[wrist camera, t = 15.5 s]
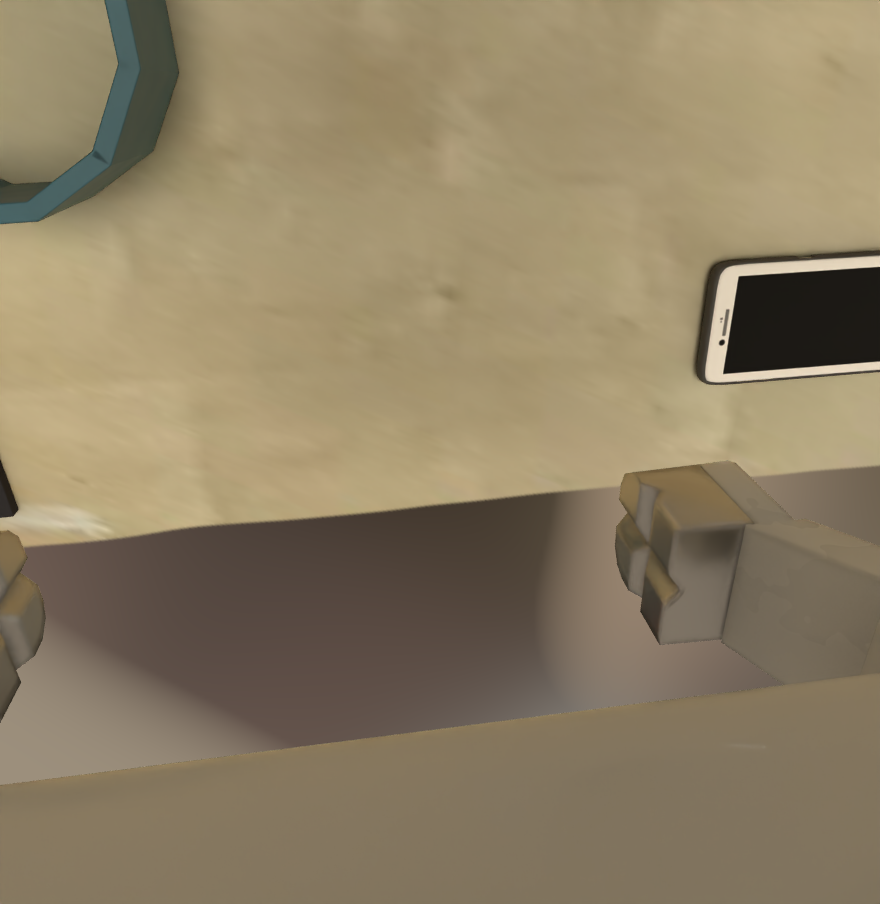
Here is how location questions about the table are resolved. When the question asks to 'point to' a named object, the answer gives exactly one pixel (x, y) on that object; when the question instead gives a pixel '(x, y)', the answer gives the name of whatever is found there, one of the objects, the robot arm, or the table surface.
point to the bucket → (112, 115)
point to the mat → (6, 497)
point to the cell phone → (791, 318)
